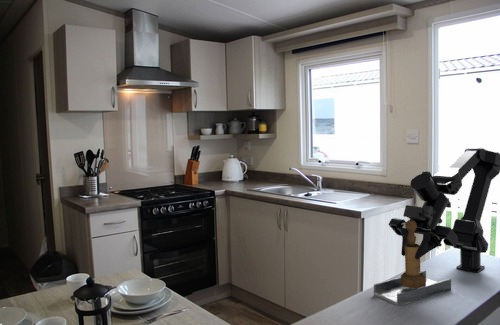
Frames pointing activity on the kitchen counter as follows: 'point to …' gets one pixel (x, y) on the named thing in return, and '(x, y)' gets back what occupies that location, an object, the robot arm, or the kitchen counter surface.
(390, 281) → the floor track
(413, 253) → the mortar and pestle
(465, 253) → the robot arm
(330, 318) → the kitchen counter surface
